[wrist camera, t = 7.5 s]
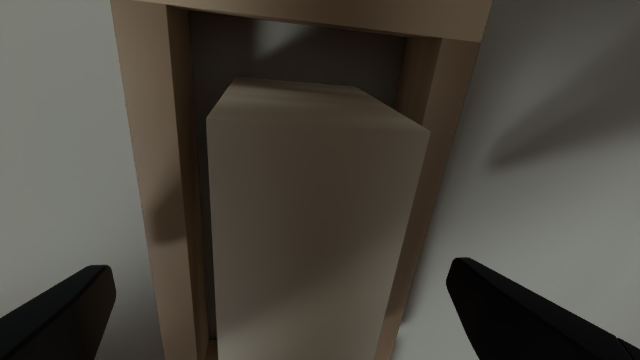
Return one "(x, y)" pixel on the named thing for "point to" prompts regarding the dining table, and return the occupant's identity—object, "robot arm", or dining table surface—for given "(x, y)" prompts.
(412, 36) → the jig board
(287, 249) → the beige rectangular block
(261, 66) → the dining table surface
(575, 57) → the dining table surface
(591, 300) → the dining table surface
